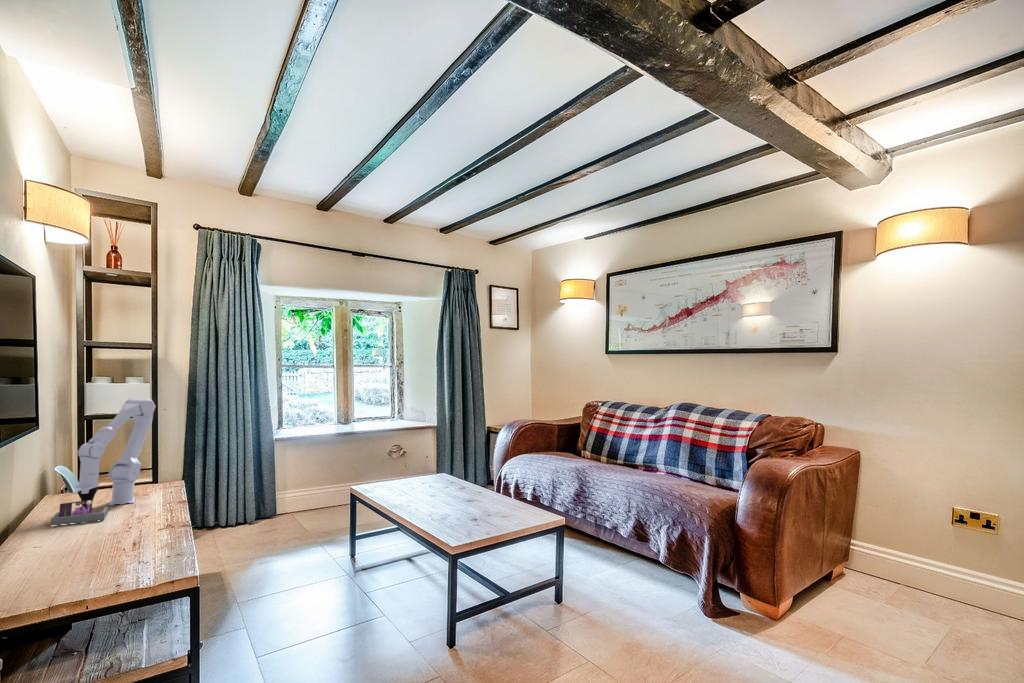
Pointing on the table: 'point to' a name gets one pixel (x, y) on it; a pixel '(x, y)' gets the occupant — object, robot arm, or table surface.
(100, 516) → the holder
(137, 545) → the table surface
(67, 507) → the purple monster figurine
